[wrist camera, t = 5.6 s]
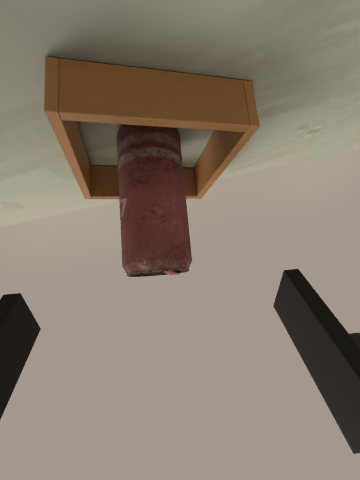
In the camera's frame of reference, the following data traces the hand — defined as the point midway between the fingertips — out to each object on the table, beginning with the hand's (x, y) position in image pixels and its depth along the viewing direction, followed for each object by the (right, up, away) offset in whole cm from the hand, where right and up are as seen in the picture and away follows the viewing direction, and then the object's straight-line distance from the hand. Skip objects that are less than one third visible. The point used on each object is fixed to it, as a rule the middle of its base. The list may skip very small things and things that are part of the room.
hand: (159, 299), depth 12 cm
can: (-2, +14, +11) cm, 18 cm away
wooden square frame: (-2, +14, +11) cm, 18 cm away
